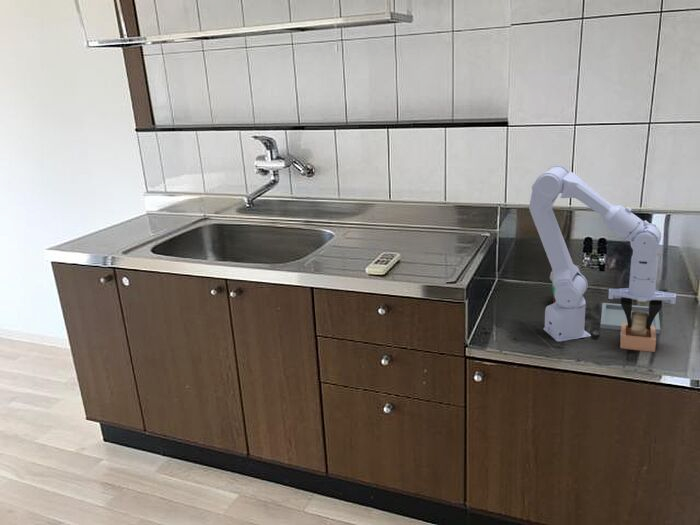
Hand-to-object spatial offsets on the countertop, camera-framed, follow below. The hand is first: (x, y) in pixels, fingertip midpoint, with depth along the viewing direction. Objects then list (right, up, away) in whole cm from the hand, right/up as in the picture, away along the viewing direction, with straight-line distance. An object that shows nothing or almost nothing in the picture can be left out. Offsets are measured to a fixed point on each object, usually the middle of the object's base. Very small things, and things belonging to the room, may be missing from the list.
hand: (638, 326), depth 146 cm
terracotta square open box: (0, -5, +2) cm, 5 cm away
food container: (-9, +4, +29) cm, 31 cm away
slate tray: (+4, 0, +14) cm, 14 cm away
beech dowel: (0, -4, +1) cm, 4 cm away
